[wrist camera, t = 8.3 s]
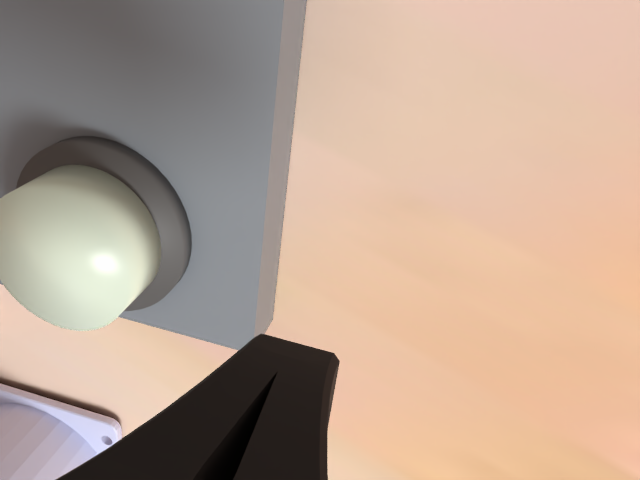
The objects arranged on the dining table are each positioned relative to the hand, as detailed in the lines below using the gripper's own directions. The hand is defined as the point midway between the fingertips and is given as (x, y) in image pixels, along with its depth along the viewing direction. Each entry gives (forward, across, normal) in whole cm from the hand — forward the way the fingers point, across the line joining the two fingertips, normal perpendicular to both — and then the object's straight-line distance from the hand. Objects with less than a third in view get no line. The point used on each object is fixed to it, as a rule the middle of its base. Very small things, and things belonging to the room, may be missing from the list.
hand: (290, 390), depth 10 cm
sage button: (+7, +8, +2) cm, 11 cm away
